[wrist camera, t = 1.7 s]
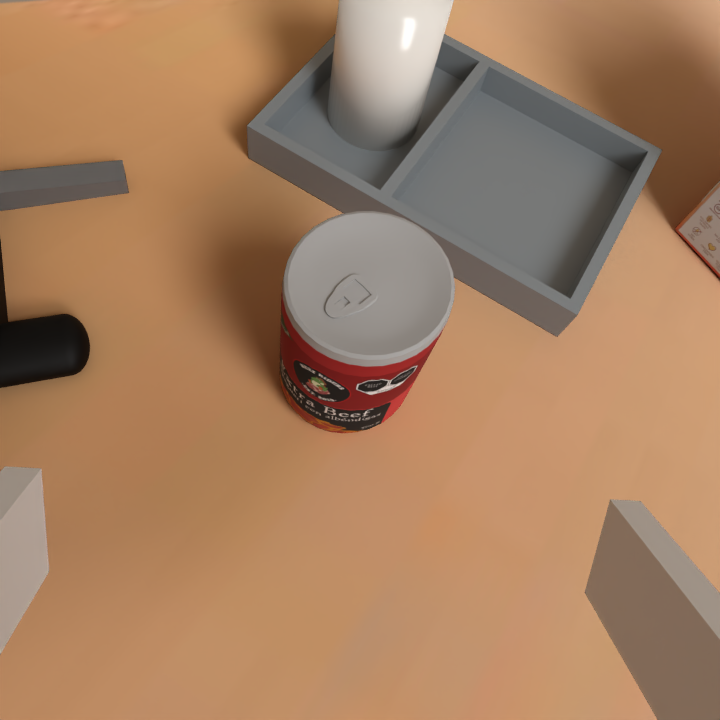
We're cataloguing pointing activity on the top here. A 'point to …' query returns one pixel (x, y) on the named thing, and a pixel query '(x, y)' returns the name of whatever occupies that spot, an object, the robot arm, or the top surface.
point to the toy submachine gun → (58, 332)
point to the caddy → (475, 176)
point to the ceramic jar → (383, 68)
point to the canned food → (360, 317)
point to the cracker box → (704, 229)
